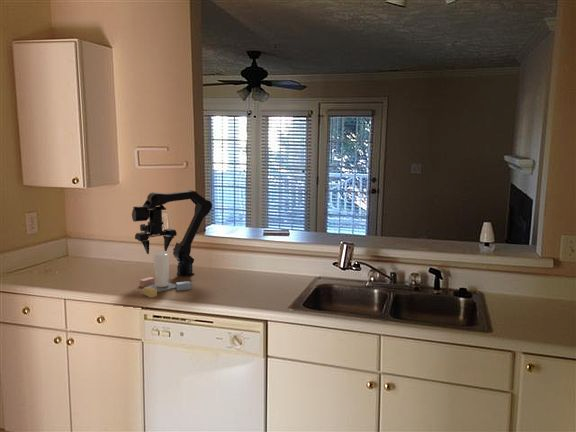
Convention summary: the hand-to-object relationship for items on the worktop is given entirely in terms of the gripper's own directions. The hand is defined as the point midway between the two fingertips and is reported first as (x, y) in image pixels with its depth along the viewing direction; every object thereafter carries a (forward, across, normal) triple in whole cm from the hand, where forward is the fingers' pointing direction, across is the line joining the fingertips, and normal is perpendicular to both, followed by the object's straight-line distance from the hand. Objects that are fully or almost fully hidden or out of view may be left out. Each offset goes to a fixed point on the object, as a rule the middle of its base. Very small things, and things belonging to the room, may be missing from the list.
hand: (156, 252), depth 226 cm
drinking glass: (+13, +5, +13) cm, 19 cm away
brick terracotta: (+13, +8, +5) cm, 16 cm away
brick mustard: (+13, +14, +19) cm, 27 cm away
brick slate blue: (+13, -1, +21) cm, 25 cm away
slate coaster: (+13, +5, +13) cm, 19 cm away
